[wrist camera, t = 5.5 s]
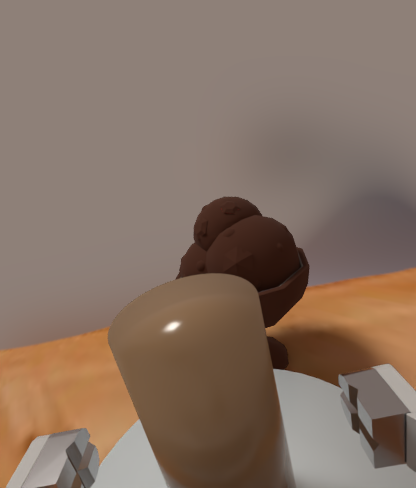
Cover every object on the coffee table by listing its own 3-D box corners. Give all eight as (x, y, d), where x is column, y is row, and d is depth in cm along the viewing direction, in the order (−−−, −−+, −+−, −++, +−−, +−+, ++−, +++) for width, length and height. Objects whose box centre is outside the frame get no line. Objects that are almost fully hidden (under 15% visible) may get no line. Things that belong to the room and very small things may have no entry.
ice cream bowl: (177, 374, 26) (126, 223, 22) (249, 312, 33) (222, 187, 29) (273, 440, 19) (227, 227, 14) (341, 341, 25) (325, 176, 21)
